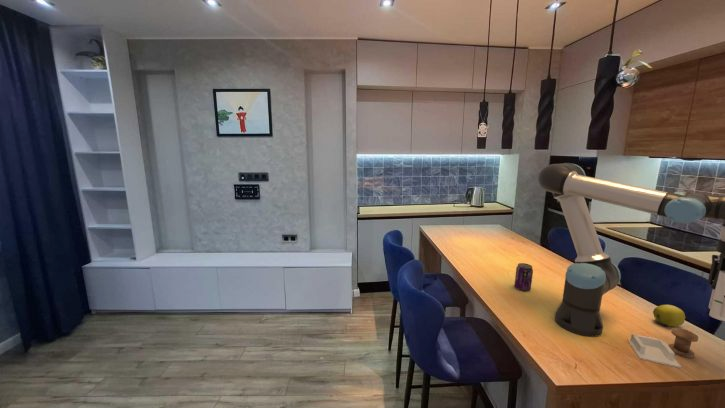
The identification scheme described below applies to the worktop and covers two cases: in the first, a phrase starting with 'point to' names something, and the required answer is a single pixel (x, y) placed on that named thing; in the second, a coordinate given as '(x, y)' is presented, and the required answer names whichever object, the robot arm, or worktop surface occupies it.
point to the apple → (669, 315)
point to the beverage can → (523, 277)
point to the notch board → (653, 350)
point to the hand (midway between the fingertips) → (720, 312)
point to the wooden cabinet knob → (683, 342)
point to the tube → (718, 297)
